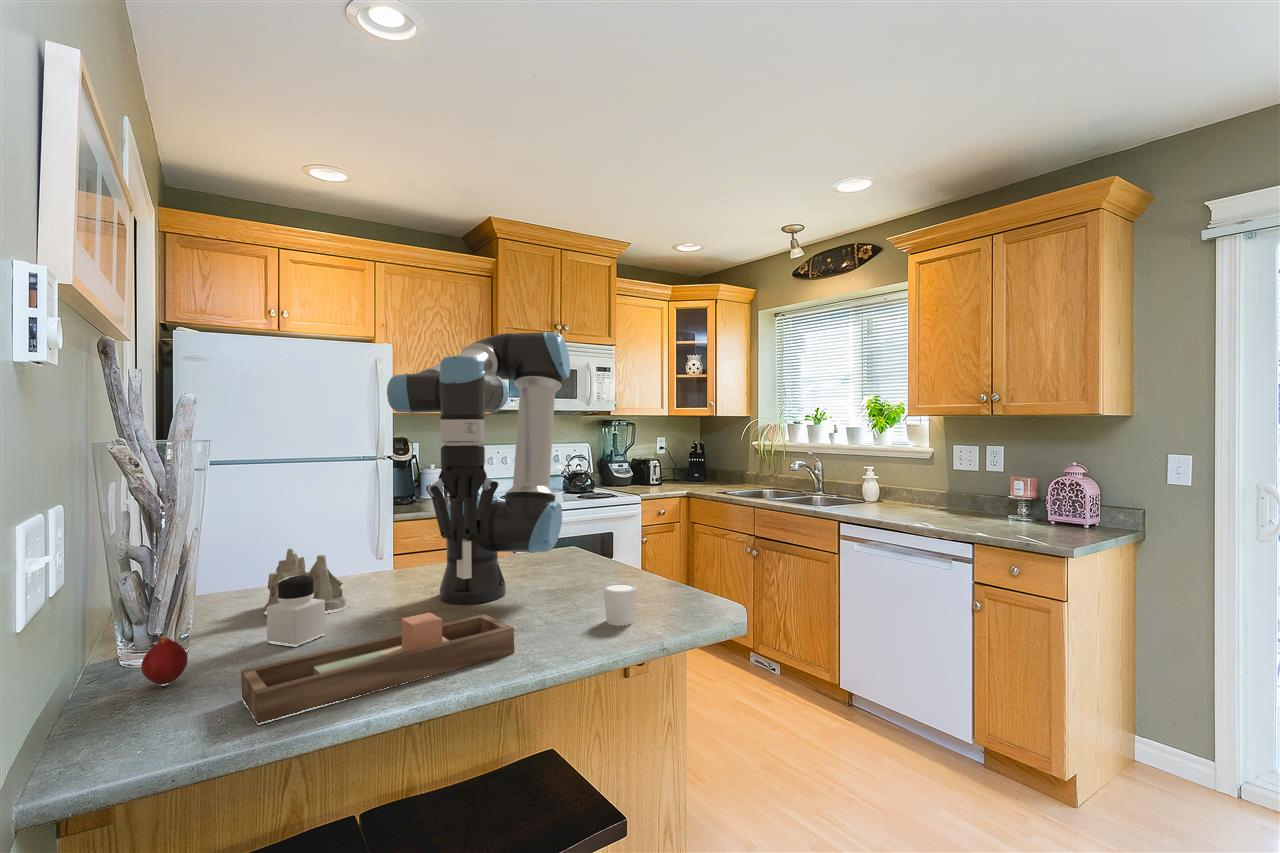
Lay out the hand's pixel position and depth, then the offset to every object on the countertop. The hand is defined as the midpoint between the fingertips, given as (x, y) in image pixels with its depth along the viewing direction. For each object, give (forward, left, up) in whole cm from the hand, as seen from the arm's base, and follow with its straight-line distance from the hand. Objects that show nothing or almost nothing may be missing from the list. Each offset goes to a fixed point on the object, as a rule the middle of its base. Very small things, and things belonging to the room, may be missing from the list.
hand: (464, 577), depth 114 cm
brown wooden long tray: (0, -13, -14) cm, 19 cm away
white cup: (+5, +32, -14) cm, 35 cm away
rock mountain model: (-50, -13, -14) cm, 54 cm away
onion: (-20, -41, -14) cm, 48 cm away
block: (0, -8, -11) cm, 13 cm away
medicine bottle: (-29, -20, -14) cm, 38 cm away
